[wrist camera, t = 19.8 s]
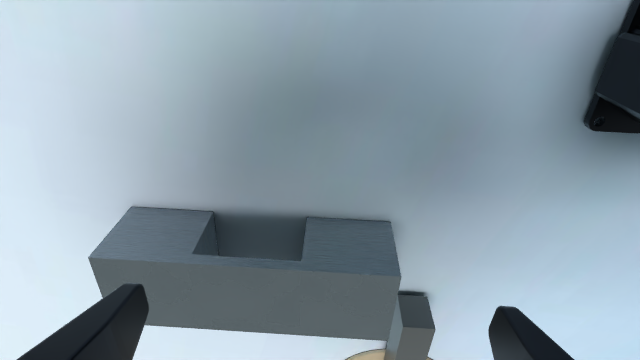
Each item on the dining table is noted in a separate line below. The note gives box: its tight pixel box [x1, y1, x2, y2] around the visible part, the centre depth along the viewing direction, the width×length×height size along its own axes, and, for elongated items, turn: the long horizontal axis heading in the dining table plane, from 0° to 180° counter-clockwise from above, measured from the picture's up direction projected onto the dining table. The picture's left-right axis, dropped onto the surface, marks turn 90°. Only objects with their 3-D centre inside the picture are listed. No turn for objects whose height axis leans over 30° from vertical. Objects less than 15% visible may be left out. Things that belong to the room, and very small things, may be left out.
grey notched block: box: [88, 207, 401, 341], centre depth 22 cm, size 16×5×5 cm, turn 88°
